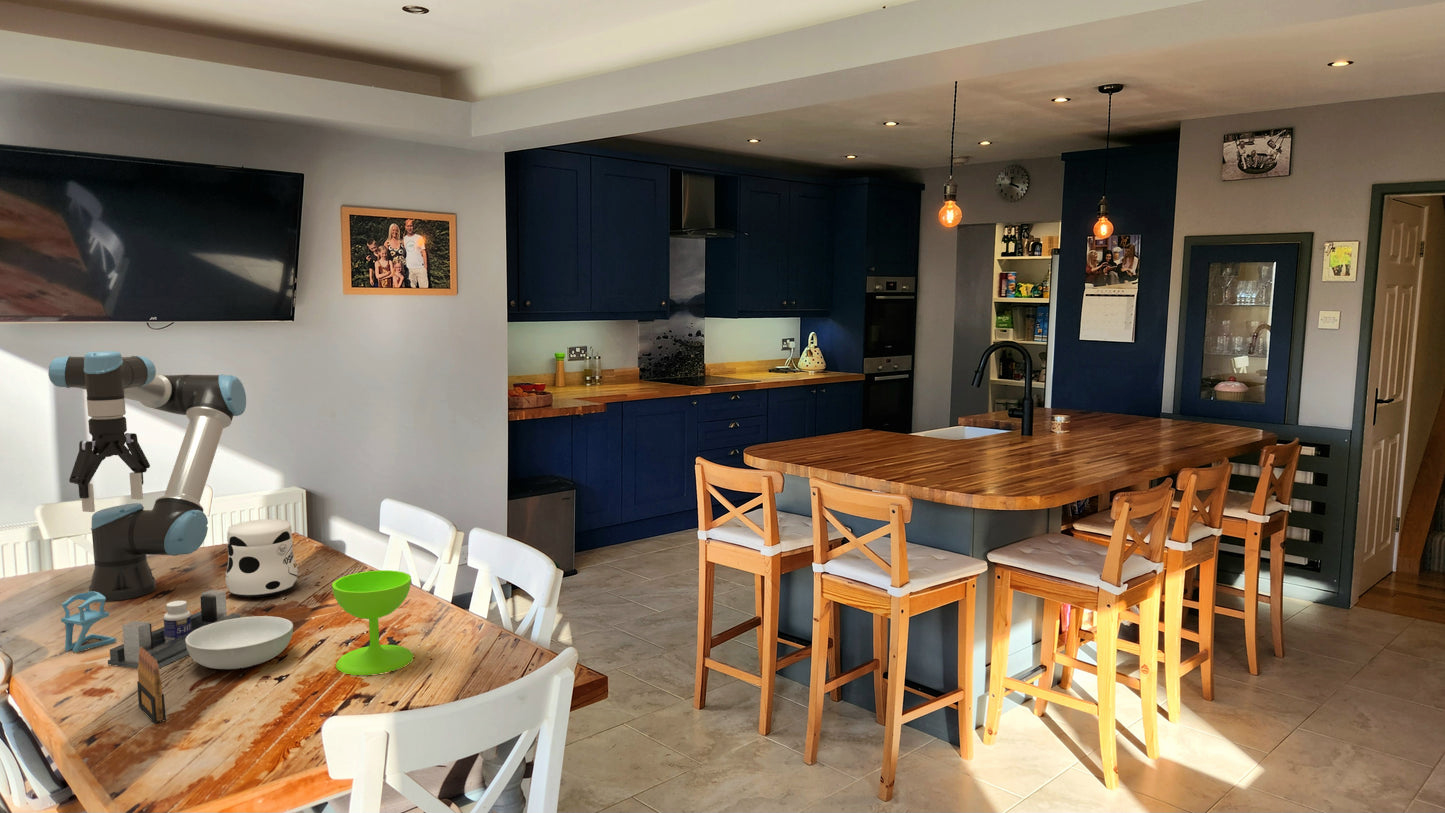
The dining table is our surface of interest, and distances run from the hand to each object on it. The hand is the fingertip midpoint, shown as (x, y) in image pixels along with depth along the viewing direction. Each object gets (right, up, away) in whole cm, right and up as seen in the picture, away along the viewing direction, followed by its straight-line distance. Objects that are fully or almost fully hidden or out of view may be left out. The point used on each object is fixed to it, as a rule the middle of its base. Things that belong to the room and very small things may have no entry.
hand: (113, 505), depth 227 cm
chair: (+2, -31, -12) cm, 33 cm away
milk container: (+23, -26, +26) cm, 44 cm away
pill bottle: (+23, -30, -12) cm, 39 cm away
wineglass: (+70, -32, -21) cm, 80 cm away
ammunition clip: (+37, -35, -46) cm, 69 cm away
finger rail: (+23, -31, -12) cm, 40 cm away
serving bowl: (+41, -32, -21) cm, 56 cm away
